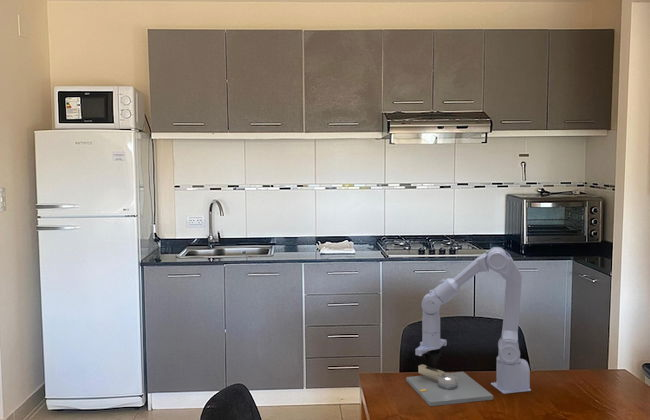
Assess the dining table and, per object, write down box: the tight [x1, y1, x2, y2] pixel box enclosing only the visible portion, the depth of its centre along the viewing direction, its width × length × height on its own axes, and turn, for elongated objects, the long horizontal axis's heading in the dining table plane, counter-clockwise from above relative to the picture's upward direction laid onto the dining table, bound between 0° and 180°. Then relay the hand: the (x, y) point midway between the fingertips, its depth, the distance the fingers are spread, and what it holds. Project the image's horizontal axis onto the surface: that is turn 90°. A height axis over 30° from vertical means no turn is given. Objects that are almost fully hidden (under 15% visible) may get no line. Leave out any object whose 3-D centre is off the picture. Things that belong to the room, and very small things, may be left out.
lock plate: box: [405, 371, 494, 407], centre depth 170 cm, size 20×20×2 cm
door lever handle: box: [417, 364, 458, 389], centre depth 173 cm, size 14×6×4 cm, turn 39°
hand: (431, 372), depth 178 cm, fingers closed
